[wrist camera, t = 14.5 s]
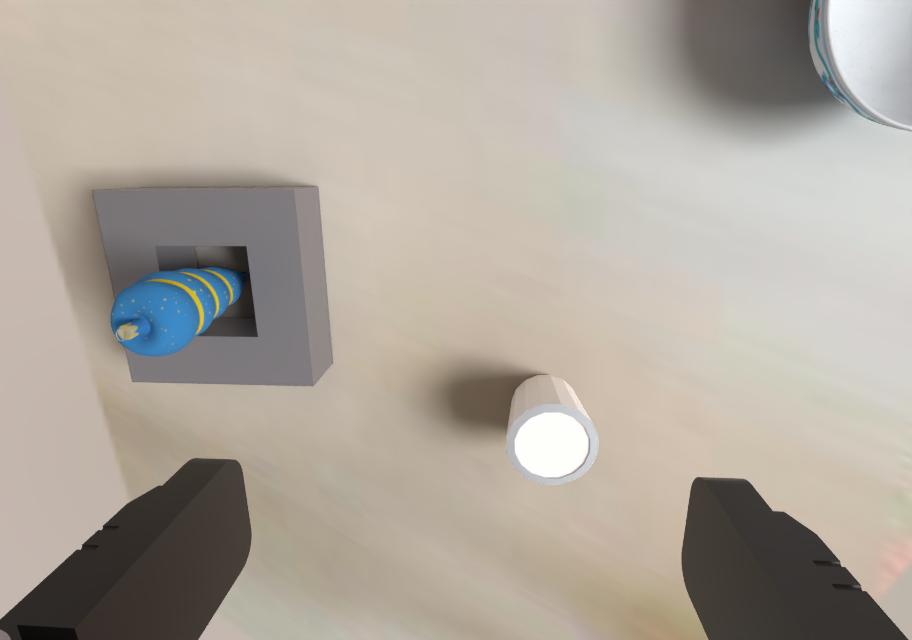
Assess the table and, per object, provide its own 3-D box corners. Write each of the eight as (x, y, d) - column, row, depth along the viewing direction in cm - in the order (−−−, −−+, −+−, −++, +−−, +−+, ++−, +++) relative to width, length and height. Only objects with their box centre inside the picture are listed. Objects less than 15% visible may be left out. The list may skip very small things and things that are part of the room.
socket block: (138, 187, 42) (92, 190, 37) (318, 186, 40) (294, 189, 36) (170, 359, 46) (132, 382, 41) (333, 362, 45) (313, 386, 40)
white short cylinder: (498, 432, 46) (498, 478, 39) (511, 361, 43) (514, 397, 37) (574, 444, 45) (588, 493, 39) (591, 374, 43) (608, 412, 37)
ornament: (266, 244, 42) (143, 283, 28) (280, 303, 43) (171, 370, 29) (208, 252, 43) (59, 294, 28) (224, 311, 44) (90, 379, 30)
